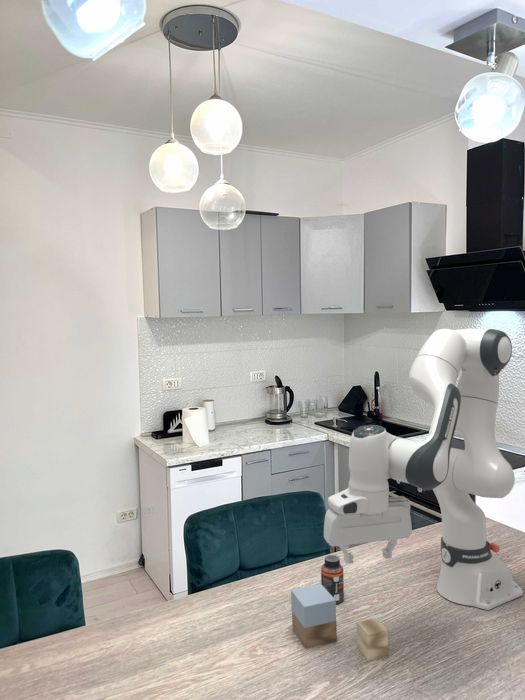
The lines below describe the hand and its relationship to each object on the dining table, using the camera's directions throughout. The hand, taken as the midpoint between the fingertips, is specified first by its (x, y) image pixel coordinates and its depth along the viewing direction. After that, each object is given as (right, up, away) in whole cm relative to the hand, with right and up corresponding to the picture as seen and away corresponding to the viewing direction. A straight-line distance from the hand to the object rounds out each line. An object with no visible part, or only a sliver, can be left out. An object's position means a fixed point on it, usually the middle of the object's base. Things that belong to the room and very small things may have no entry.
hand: (368, 560), depth 116 cm
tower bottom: (-11, -21, +7) cm, 25 cm away
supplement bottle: (-5, -20, +23) cm, 31 cm away
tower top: (-12, -16, +7) cm, 21 cm away
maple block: (+1, -21, +1) cm, 21 cm away
